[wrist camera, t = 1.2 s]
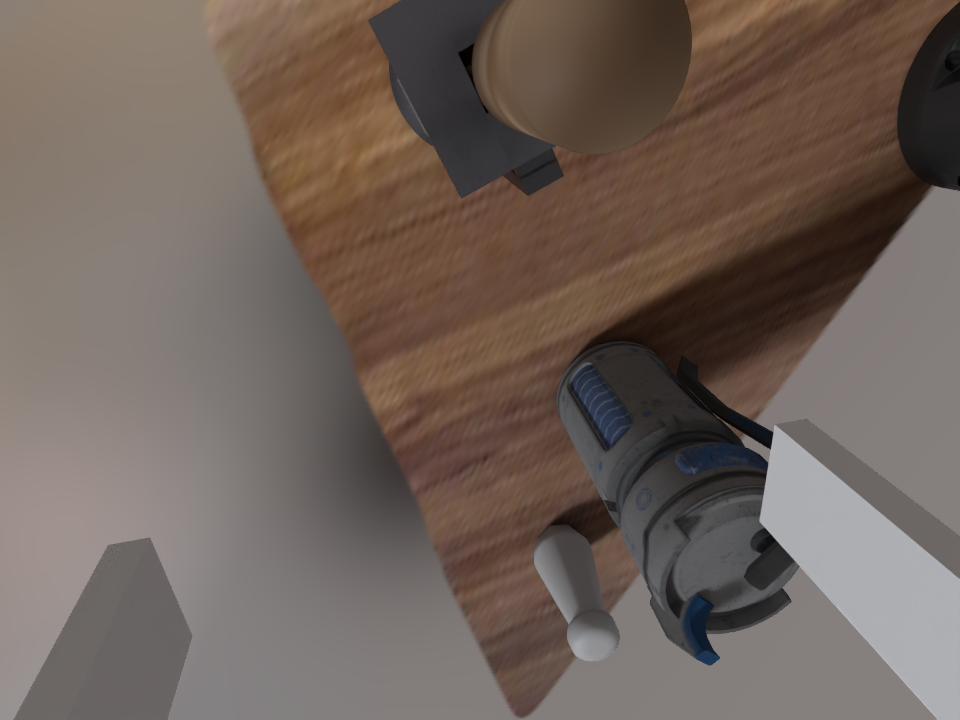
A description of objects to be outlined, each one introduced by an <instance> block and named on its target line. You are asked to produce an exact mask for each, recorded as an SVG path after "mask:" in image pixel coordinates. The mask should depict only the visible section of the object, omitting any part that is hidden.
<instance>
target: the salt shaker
mask: <svg viewBox="0 0 960 720" xmlns="http://www.w3.org/2000/svg"><path fill="white" fill-rule="evenodd" d="M534 564H535V566H536V569H537V571H538V573H539V575H540V576H541V578H542V580H543V581H544V583H545V585H546V586H547V588H548V590H549V591H550V593H551V595H552V597H553V598H554V600H555V602H556V603H557V605H558V607H559V608H560V610H561V612H562V614H563V615H564V617H565V619H566V620H567V622H568V624H569V625H568V631H567V638H568V642H569V644H570V647H571V649H572V650H573V652H574V654H575V656H577V657H579V658H581V659H583V660H587V661H598V660H602V659H605V658H606V657H608V656H610V655H611V654H612V653H613V652H614V651H615V649H616V648H617V646H618V644H619V640H620V635H619V630H618V628H617V626H616V624H615V622H614V620H613V618H612V616H611V615H610V614H608V613H606V612H605V610H604V605H603V601H602V596H601V591H600V586H599V581H598V577H597V572H596V567H595V562H594V557H593V553H592V549H591V547H590V544H589V542H588V540H587V539H586V538H585V537H584V536H582V535H581V534H579V533H578V532H577V531H575V530H574V529H573V528H572V527H570V526H569V525H568V524H567V525H550V526H549V527H548V528H547V529H546V530H545V531H544V532H543V533H542V534H541V535H540V536H539V537H538V539H537V543H536V547H535V554H534Z"/></svg>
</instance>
